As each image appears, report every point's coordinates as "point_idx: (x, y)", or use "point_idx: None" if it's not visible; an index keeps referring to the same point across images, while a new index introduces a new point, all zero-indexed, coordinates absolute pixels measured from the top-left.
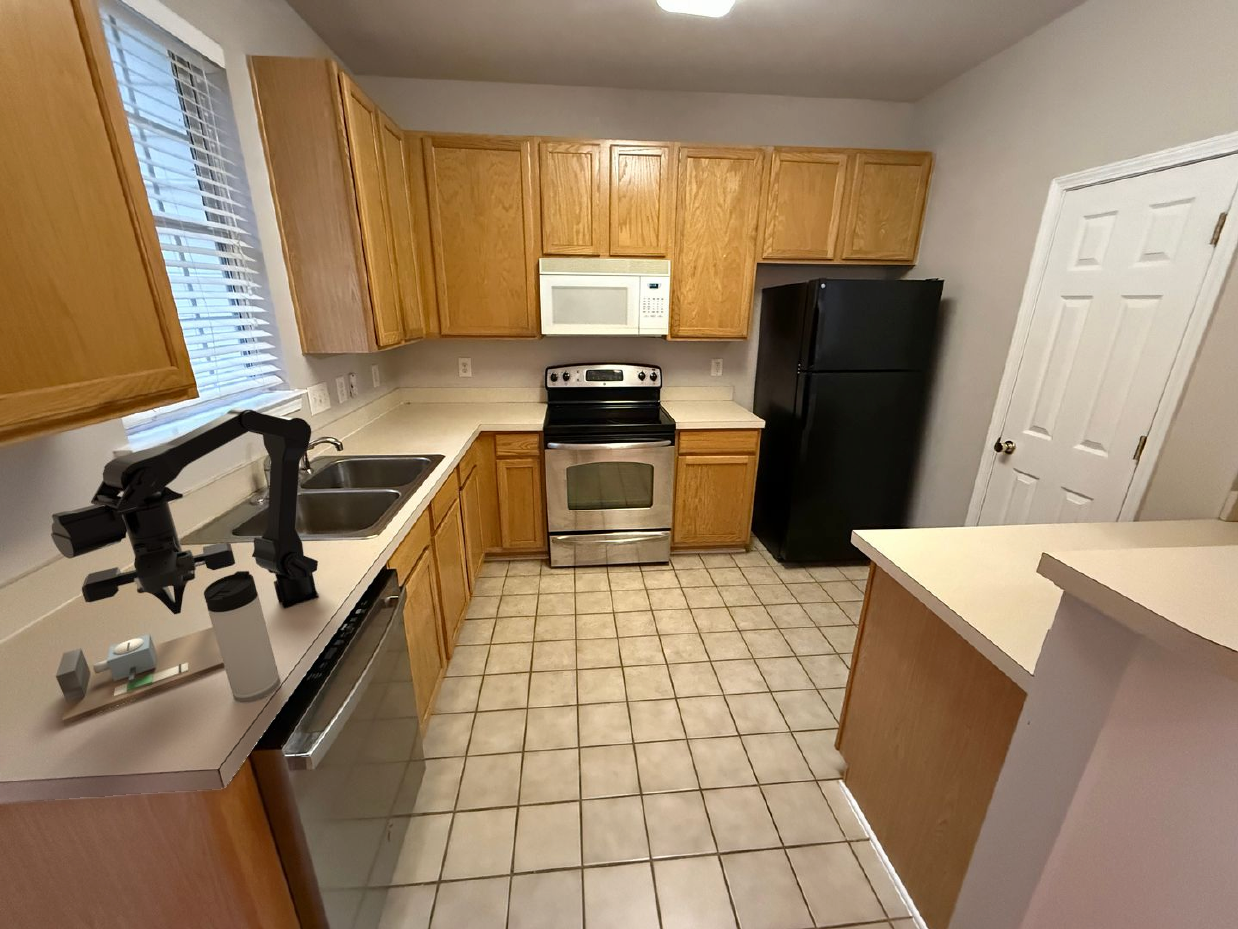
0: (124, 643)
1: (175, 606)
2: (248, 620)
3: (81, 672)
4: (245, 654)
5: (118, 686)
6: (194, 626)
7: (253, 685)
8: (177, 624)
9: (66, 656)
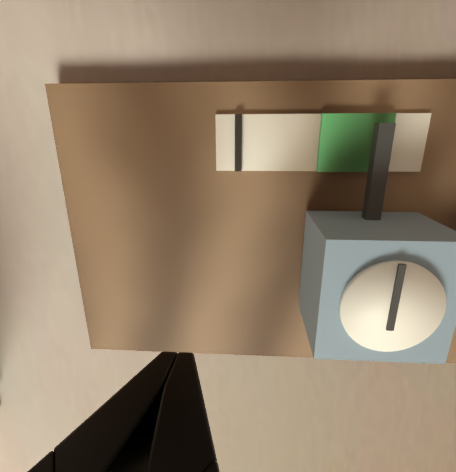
0: (404, 337)
1: (159, 391)
2: None
3: None
4: None
5: (411, 169)
6: (206, 401)
7: None
8: (245, 438)
9: None
